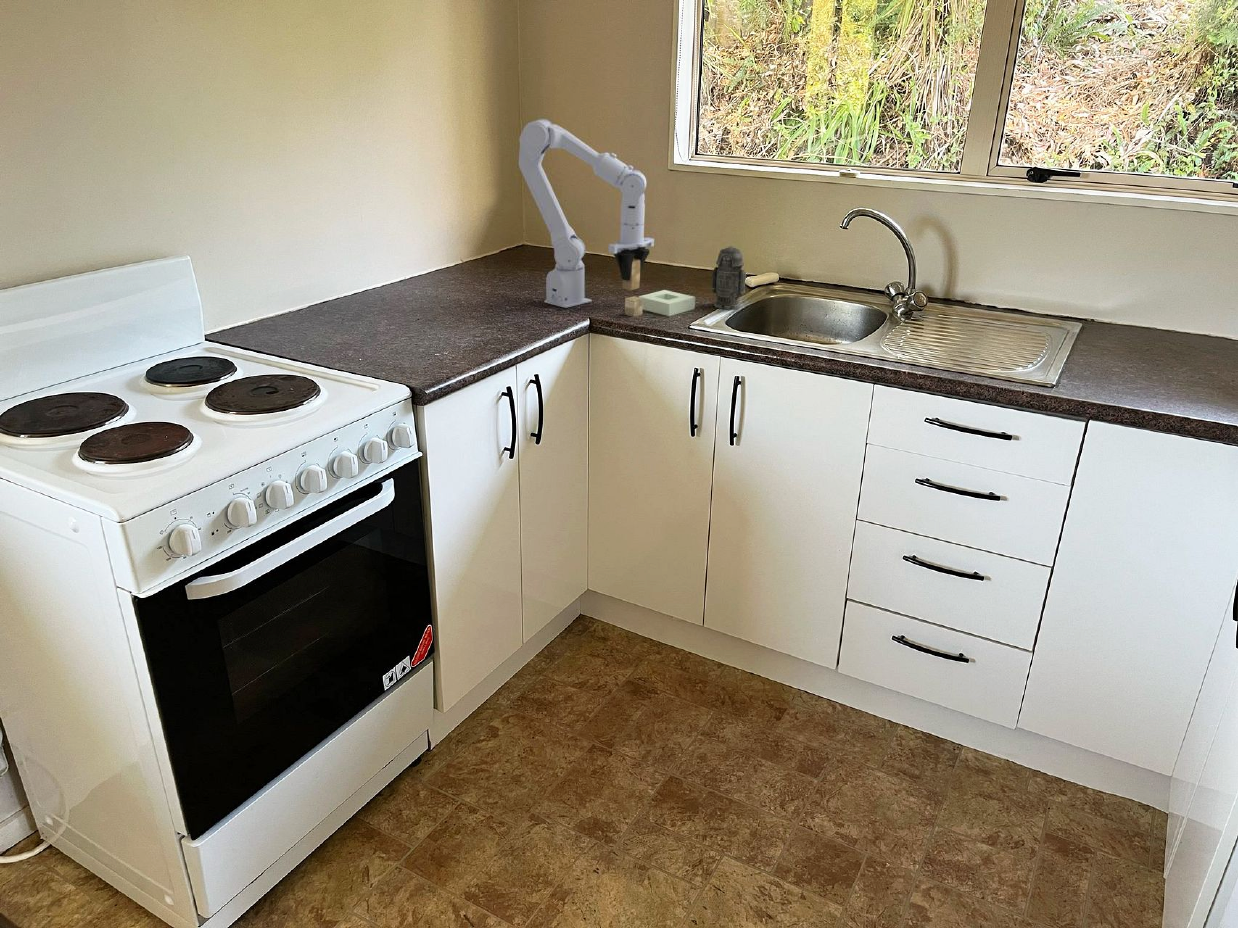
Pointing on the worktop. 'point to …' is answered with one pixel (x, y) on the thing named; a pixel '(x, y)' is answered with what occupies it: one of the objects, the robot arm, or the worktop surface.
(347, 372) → the worktop surface
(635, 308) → the short pin
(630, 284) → the long pin
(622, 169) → the robot arm
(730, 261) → the toy
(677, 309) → the socket
